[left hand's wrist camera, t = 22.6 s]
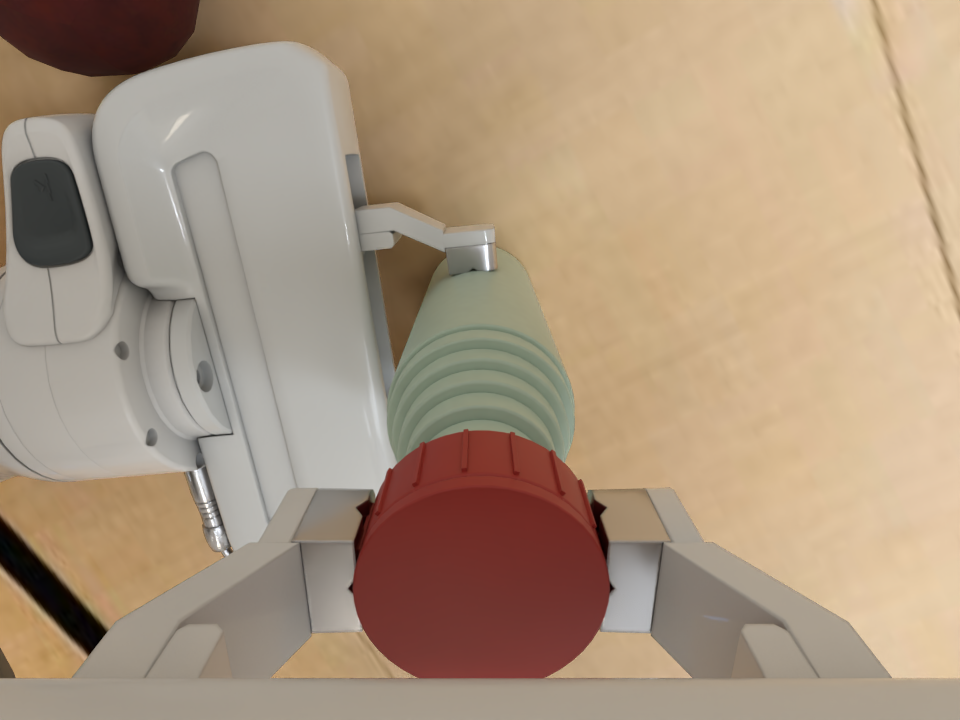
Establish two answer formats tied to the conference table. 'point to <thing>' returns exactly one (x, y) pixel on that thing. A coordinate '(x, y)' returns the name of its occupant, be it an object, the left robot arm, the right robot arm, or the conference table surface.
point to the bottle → (480, 364)
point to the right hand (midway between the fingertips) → (503, 326)
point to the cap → (481, 561)
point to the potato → (99, 32)
